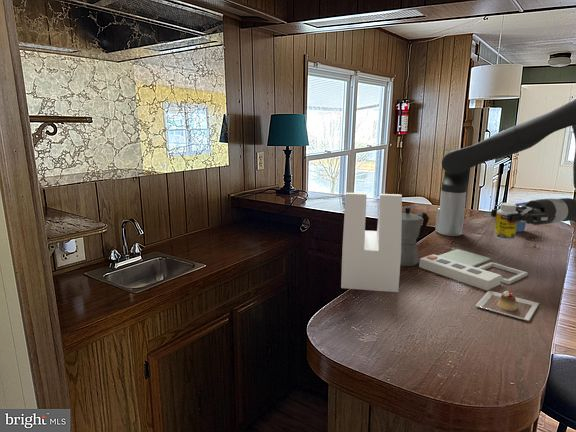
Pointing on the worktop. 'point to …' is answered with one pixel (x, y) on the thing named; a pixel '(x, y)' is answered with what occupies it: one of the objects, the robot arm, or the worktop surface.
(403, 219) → the coffeepot
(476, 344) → the worktop surface
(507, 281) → the white square frame
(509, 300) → the dessert
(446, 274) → the power strip
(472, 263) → the mat
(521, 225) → the label tape box
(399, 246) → the white slotted block
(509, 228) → the supplement bottle
